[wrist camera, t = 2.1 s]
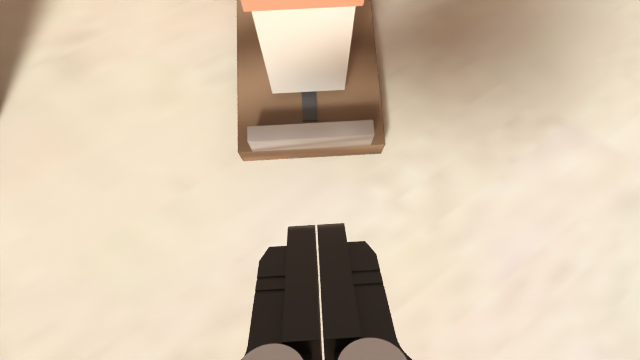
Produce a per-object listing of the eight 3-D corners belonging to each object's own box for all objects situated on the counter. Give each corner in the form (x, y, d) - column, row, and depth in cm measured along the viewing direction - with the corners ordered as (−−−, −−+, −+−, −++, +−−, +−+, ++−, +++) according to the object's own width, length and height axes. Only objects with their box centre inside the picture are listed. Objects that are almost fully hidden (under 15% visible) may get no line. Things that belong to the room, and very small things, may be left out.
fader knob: (349, 93, 27) (366, -17, 17) (268, 97, 27) (237, -10, 17) (344, 35, 28) (358, -101, 18) (266, 39, 28) (236, -95, 18)
